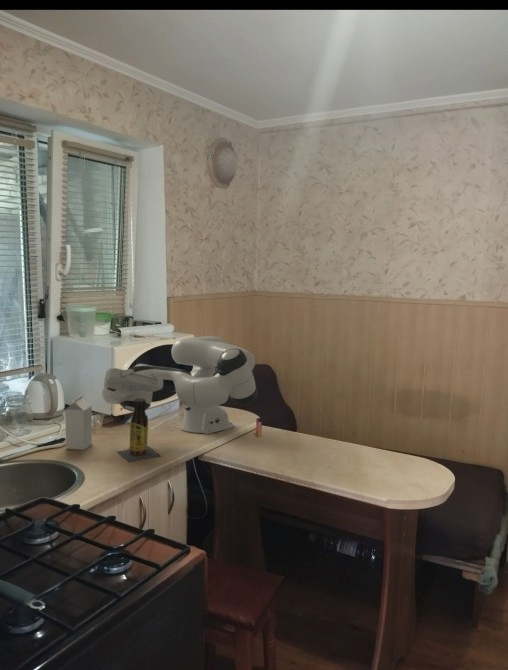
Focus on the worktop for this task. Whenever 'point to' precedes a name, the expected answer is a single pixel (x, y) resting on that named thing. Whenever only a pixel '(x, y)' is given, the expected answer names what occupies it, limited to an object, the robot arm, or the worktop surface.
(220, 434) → the worktop surface
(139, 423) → the sauce bottle
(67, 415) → the milk carton
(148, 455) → the mat
